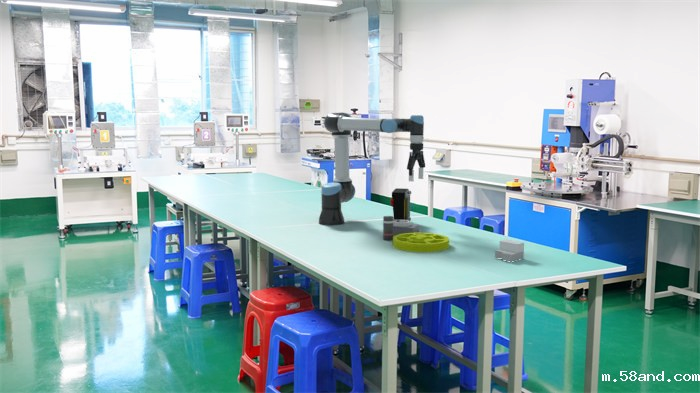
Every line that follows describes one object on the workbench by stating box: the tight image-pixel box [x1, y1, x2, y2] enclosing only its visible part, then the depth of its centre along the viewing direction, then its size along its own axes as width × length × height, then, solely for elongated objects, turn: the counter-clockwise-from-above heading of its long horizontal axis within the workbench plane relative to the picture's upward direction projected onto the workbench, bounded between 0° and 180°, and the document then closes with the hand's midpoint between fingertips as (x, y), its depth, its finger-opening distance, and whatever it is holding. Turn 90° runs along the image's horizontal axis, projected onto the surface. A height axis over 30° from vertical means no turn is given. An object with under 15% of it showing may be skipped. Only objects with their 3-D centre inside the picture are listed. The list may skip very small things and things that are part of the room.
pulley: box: [392, 232, 450, 253], centre depth 313 cm, size 28×28×5 cm
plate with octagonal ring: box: [393, 218, 420, 237], centre depth 341 cm, size 16×11×7 cm
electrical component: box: [390, 188, 412, 222], centre depth 368 cm, size 18×10×20 cm, turn 168°
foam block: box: [494, 238, 525, 262], centre depth 286 cm, size 10×10×8 cm
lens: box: [382, 215, 394, 242], centre depth 327 cm, size 5×5×12 cm
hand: (416, 180), depth 359 cm, fingers open, 13 cm apart
